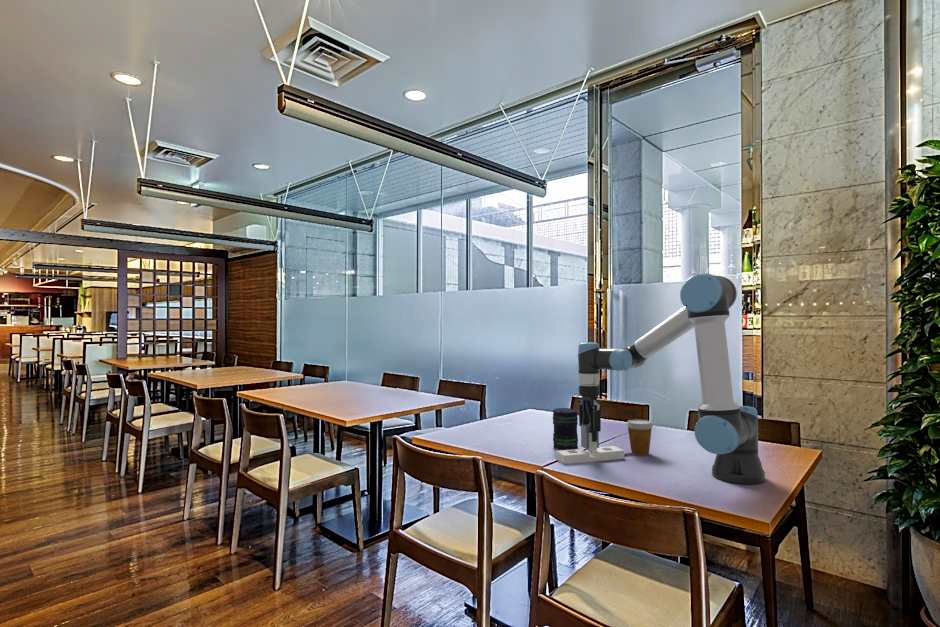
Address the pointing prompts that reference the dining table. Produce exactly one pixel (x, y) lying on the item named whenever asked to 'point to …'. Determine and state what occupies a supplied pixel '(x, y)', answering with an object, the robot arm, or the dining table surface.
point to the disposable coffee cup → (639, 436)
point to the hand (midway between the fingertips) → (589, 448)
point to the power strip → (590, 455)
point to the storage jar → (565, 429)
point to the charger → (587, 436)
